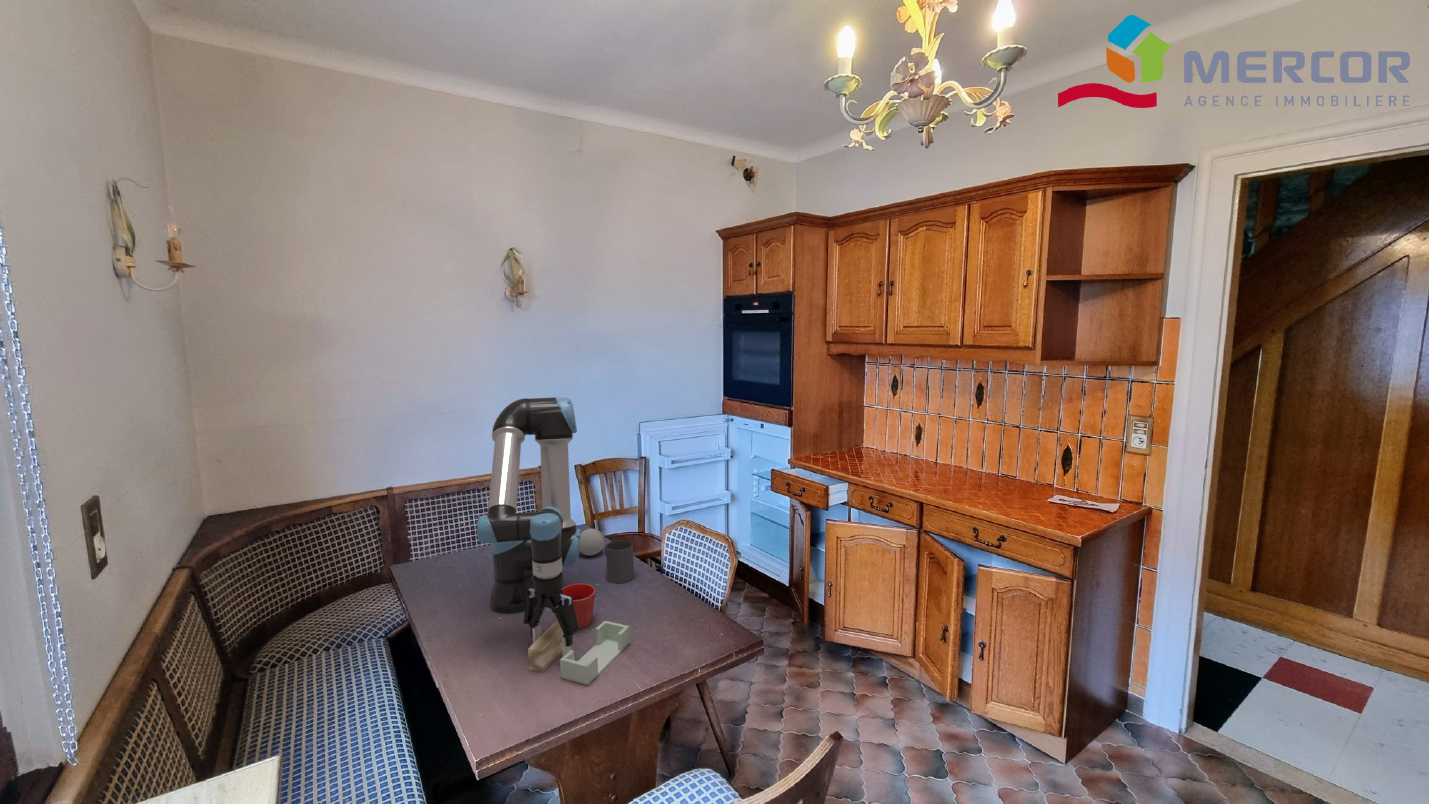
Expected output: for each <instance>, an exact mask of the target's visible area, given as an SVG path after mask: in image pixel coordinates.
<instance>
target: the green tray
mask: <svg viewBox="0 0 1429 804" xmlns="http://www.w3.org/2000/svg"><path fill="white" fill-rule="evenodd" d="M630 634H631V633H630V625H626V624H621V623H617V622H612V621H608V620H604V621H602V622H601V624H599V625H598V626H597V627H596V628H595V645H593V647H591V649H589V650H588V651H587V652H586V653H585V654H584V655H582V657H581V658H580V659H579V660H575V659H576V658H575V650H573V649H571V650H570V651H569V652H568V653H567V654H566V655H565V656H564V657H563V656H562V658H560V659H559V664H560V669H559V670H560V678H561V679H563V680H566V681H570V682H574V683H577V684H581V685H585V686H589V685H590V684H591V683H592V682H593V681H594V680H595V679H596V678H597V677H598V676H599V675H600V674H601V673H602V672H603V671H604V670H605V669H606V668H607V667H608V666H609V665H610V664H611V663H612V662H613V661H614V660H615V659H616V658H617V657H618V656H619V655H620V654H621V653H622V652H623V651H624V650H625V649H626V648H627V647H628V646H629V644H631V635H630Z"/></svg>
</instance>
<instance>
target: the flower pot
mask: <svg viewBox="0 0 1429 804" xmlns="http://www.w3.org/2000/svg"><path fill="white" fill-rule="evenodd" d="M562 591H563V594H564V595H565V596H568V597H569V596H570V595H572V596H573V606H574V611H575V615H576V619H577V623H578V627H579V629H583V628H586V627H588V625H590V624H591V622H592V619H593V611H594V605H595V604H594V603H595V599H596V588H595V587H594V586H593V585H591V584H589V583H574V584H573V583H572V584H570V585H567V586H564V587H562ZM562 602H563V601H562Z"/></svg>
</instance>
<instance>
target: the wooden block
mask: <svg viewBox="0 0 1429 804" xmlns="http://www.w3.org/2000/svg"><path fill="white" fill-rule="evenodd" d="M567 630H568V629H567ZM563 634H564V633H563V631H562V629H561V627H560V624H559V622H558V620H557V619H556V620H555V621H554V622H553V623H552V624H551V625H550V626H549V627H548V628H547V629H546V630H545V631H544V632H542V635H541V636H540V637H539V638H538V639H537V640H536V641H535V642H534V643H533V642H532V644H531V646H530V647H529V648H528V649H527V655H528V670H529V671H534V672H538V673H539V672H540V673H544V672H545V671H546V670H547V669H548V668H549V666H550V665H551V664H552V663H553V662H554V661H555V659H556V658H558V656H559V655H560V654H561V653H562V637H561V636H562V635H563ZM572 637H573V638H574V634H573V635H572Z"/></svg>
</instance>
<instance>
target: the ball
mask: <svg viewBox="0 0 1429 804" xmlns="http://www.w3.org/2000/svg"><path fill="white" fill-rule="evenodd" d="M604 544H605V540H604V536H603V533H601V532H600V530H597V529H595V528H587V529H585V530H582V532H580V544H579V553H581V554H583V555H584V556H587V557H588V556H589V557H591V556H595V555H597V554H599V553H601V551H602V549H603V547H604Z"/></svg>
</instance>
